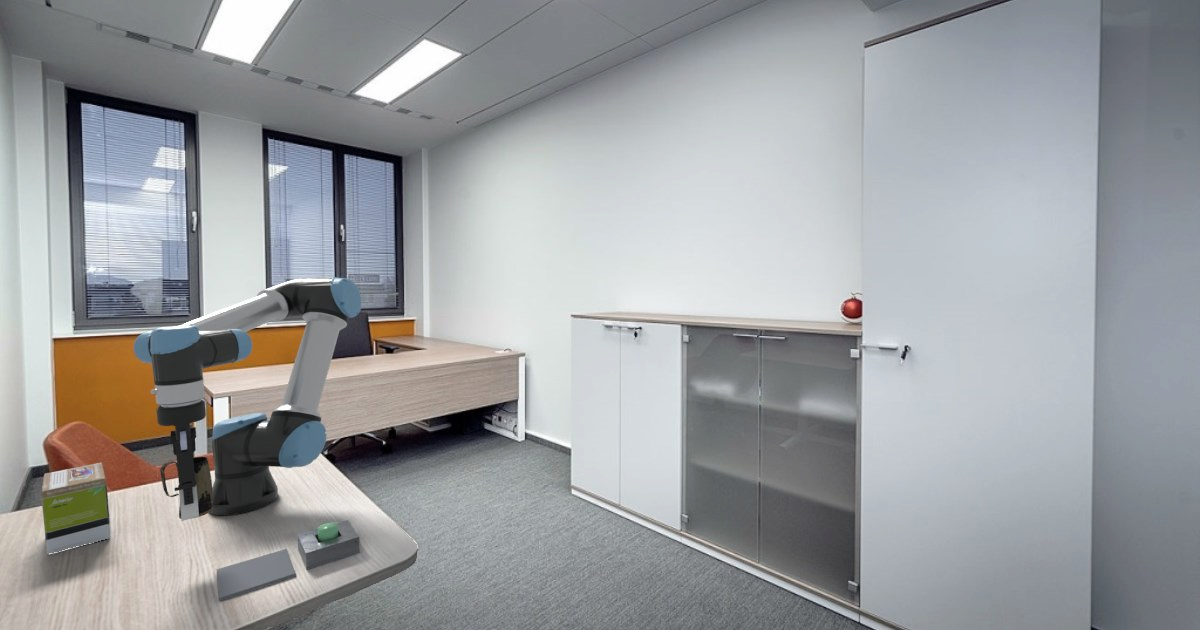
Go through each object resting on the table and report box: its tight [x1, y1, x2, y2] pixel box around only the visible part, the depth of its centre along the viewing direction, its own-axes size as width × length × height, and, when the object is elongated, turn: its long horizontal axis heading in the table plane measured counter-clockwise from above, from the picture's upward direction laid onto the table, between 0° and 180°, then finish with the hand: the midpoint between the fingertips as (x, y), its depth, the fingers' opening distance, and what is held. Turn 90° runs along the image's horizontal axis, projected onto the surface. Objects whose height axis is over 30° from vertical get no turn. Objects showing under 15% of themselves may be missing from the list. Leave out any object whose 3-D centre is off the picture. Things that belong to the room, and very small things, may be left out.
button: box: [317, 521, 338, 543], centre depth 106 cm, size 4×4×3 cm
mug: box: [160, 456, 213, 520], centre depth 101 cm, size 8×6×12 cm
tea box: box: [40, 462, 111, 555], centre depth 113 cm, size 15×10×15 cm, turn 47°
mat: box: [216, 548, 297, 602], centre depth 98 cm, size 12×12×1 cm
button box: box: [297, 520, 361, 571], centre depth 106 cm, size 10×10×4 cm
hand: (190, 512), depth 102 cm, fingers closed on mug, 5 cm apart
